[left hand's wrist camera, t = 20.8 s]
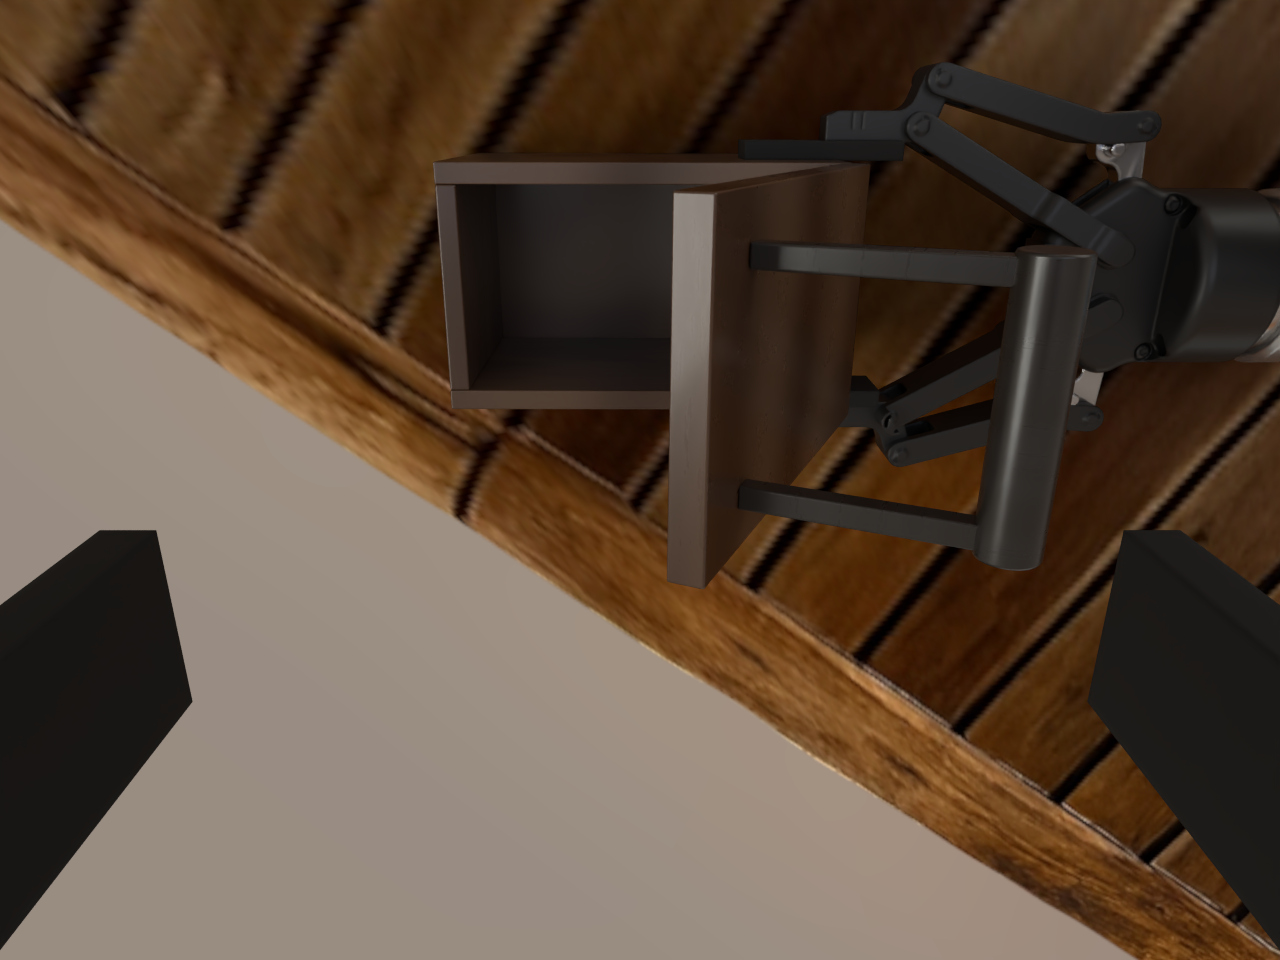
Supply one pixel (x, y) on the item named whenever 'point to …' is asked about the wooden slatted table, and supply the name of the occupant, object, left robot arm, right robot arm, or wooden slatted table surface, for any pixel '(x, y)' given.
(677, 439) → the lid
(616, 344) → the chest
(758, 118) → the wooden slatted table surface
